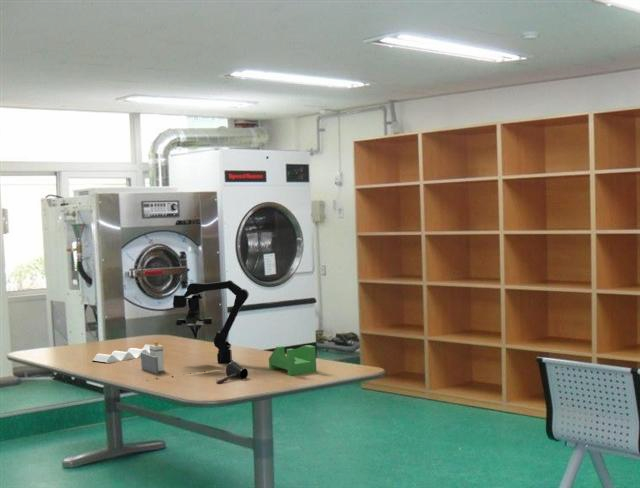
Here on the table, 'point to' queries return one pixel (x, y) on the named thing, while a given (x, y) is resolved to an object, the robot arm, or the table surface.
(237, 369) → the coffee pot
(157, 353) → the block
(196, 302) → the robot arm
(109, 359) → the white zigzag rack
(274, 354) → the green cradle stand
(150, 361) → the grey block
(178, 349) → the table surface
